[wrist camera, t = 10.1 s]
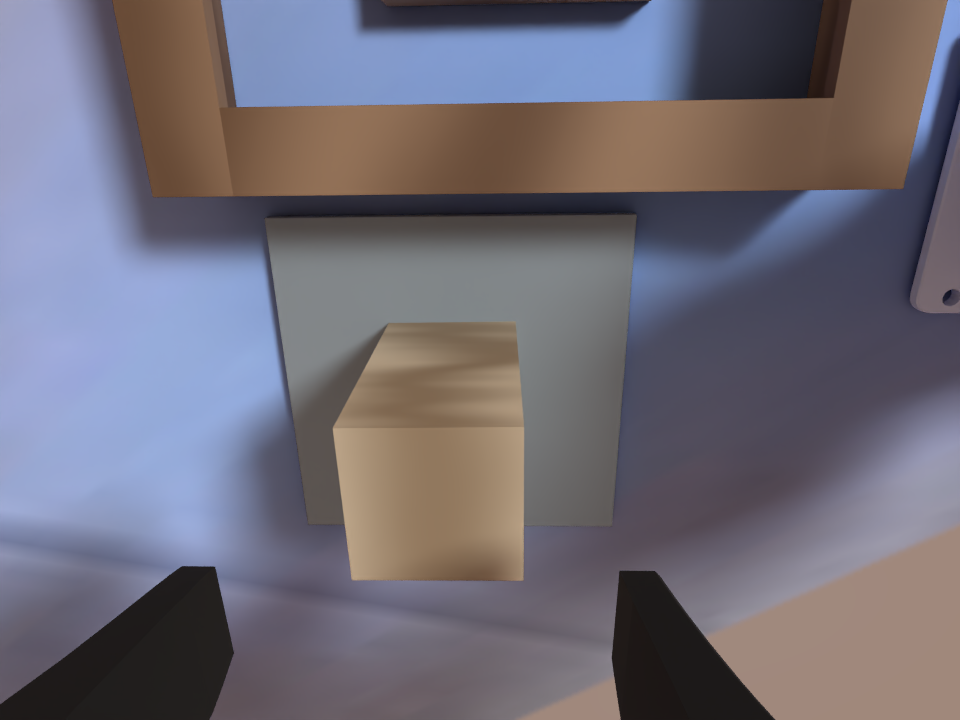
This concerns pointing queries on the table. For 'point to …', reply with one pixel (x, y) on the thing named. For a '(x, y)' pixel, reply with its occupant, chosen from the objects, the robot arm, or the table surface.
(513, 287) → the place mat
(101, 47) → the table surface
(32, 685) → the robot arm
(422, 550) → the beech block
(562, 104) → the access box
